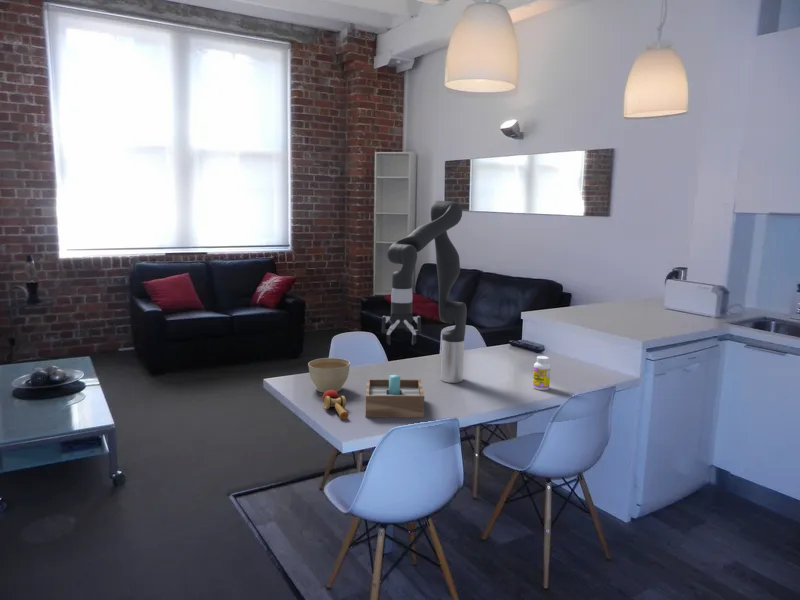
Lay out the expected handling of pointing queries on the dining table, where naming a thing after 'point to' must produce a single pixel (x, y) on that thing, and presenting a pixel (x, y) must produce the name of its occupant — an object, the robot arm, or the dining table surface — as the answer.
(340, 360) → the planter bowl
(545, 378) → the supplement bottle
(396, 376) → the peg
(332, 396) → the kendama
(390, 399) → the bore box
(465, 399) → the dining table surface
